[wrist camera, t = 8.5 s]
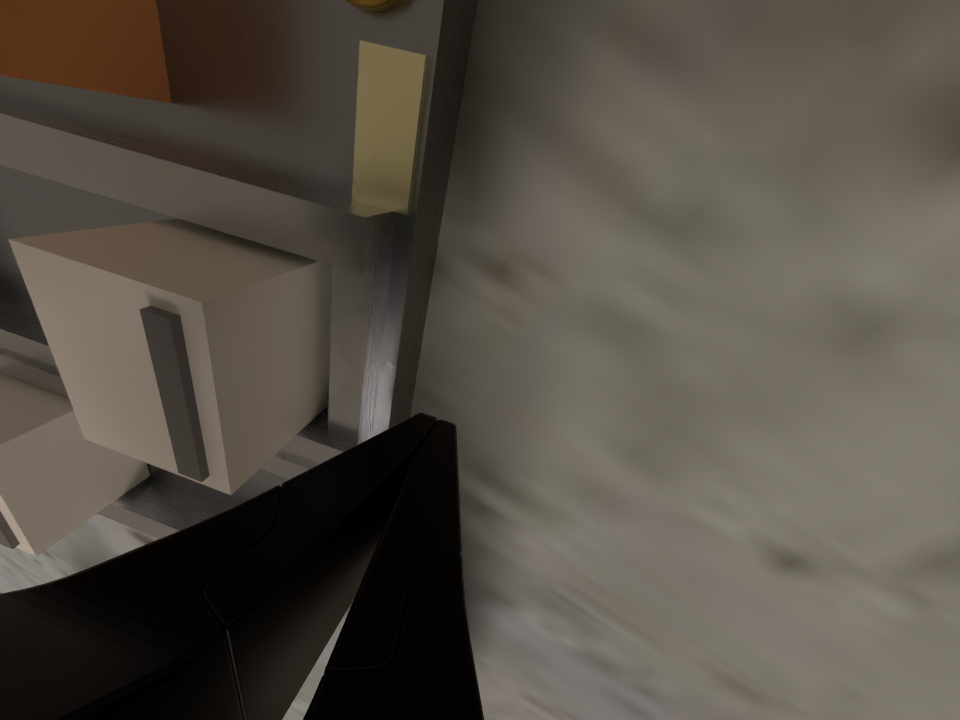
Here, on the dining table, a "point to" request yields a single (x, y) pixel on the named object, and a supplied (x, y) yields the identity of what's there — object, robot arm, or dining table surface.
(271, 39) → the panel
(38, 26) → the orange box
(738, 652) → the dining table surface
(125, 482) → the block
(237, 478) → the block
